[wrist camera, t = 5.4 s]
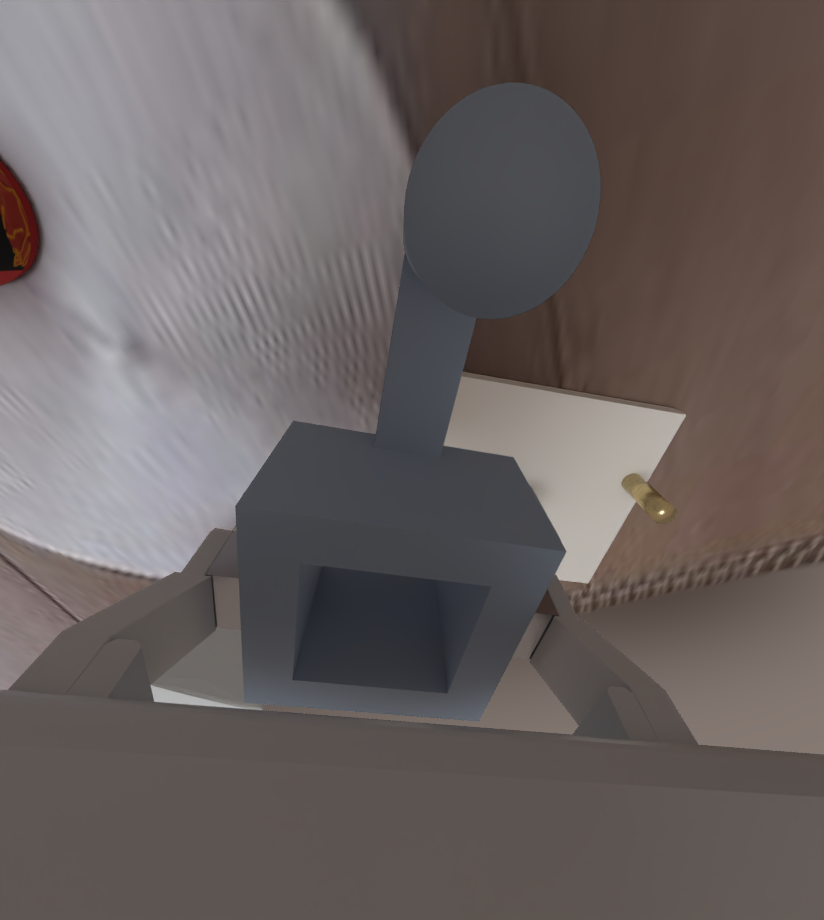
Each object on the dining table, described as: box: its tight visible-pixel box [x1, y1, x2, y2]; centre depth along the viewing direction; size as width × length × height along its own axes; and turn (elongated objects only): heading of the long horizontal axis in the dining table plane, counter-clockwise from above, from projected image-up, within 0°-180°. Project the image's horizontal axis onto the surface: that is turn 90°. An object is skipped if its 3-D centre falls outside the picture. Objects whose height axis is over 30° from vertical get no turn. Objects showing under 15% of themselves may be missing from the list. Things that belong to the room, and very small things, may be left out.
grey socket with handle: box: [235, 83, 601, 721], centre depth 8 cm, size 12×6×5 cm, turn 169°
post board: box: [443, 372, 686, 583], centre depth 25 cm, size 16×18×7 cm
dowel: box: [621, 473, 677, 524], centre depth 25 cm, size 1×1×4 cm
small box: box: [151, 526, 264, 710], centre depth 26 cm, size 8×6×13 cm
